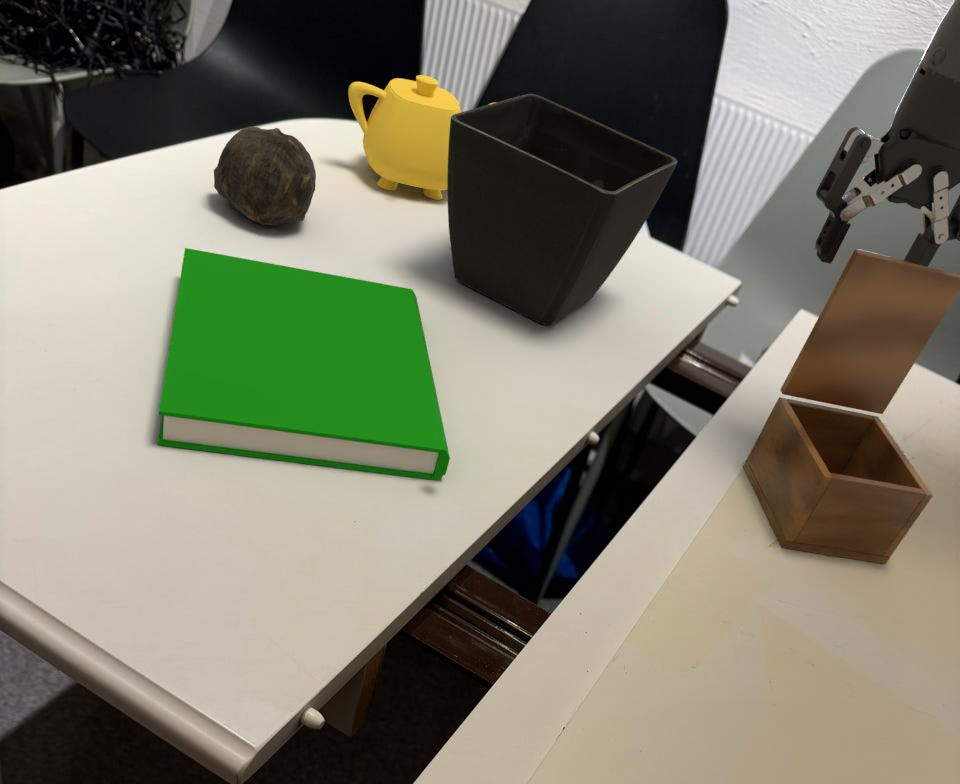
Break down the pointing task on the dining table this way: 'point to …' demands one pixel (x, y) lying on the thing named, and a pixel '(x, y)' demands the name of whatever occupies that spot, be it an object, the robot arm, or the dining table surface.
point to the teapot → (407, 132)
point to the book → (300, 369)
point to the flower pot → (544, 202)
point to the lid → (871, 332)
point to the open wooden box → (834, 482)
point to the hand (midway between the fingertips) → (864, 268)
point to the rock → (266, 176)
